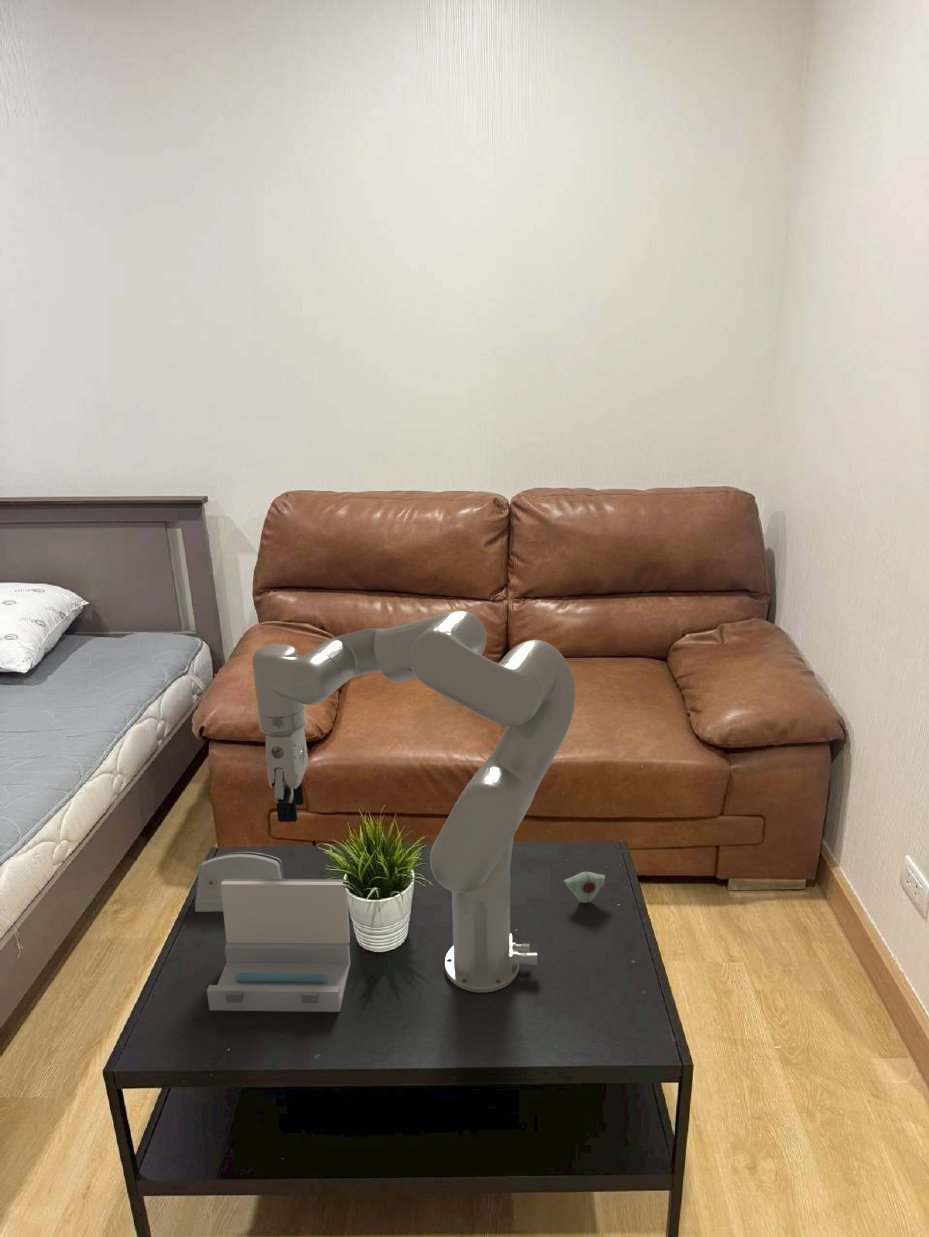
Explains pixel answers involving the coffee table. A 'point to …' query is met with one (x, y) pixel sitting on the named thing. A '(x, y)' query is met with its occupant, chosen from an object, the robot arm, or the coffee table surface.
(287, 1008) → the grey hinged box
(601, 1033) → the coffee table surface
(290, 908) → the cover
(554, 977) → the coffee table surface
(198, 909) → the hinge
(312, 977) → the teal rod
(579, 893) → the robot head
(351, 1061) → the coffee table surface
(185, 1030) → the coffee table surface
